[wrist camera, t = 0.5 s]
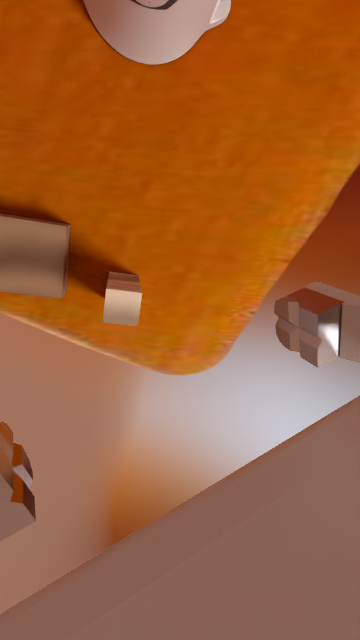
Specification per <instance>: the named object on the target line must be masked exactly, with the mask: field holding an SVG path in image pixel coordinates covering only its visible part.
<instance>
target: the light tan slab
mask: <svg viewBox="0 0 360 640" xmlns="http://www.w3.org/2000/svg"><path fill="white" fill-rule="evenodd" d="M70 229H71V224H65V223H59V222H52V221H46V220H40V219H34V218H27V217H21V216H15V215H8V214H2V213H0V292H7V293H16V294H25V295H34V296H43V297H52V298H61V299H62V297H63V296H64V294H65V293H66V291H67V278H68V262H69V245H70Z"/></svg>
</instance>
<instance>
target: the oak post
mask: <svg viewBox="0 0 360 640" xmlns="http://www.w3.org/2000/svg"><path fill="white" fill-rule="evenodd" d="M141 297H142V291H141V286H140V282H139V277H138V275H133V274H125V273H118V272H110V271H109V276H108V281H107V287H106V295H105V305H104V315H103V322H104V323H114V324H124V325H134V326H138V319H139V312H140V304H141Z"/></svg>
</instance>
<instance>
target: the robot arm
mask: <svg viewBox="0 0 360 640" xmlns="http://www.w3.org/2000/svg"><path fill="white" fill-rule="evenodd" d="M83 2H84V4H85V6H86V9H87V11H88V13H89V16H90V18H91V20H92V22H93V23H94V25H95V27H96V28H97V30H98V31H99V33H100V34H101V36H102V37H103V38H104V39H105V40H106V41H107V42H108V44H109V45H111V46H112V47H113V48H114V49H115V50H116V51H118V52H119V53H120V54H122V55H124V56H125V57H127V58H129V59H131V60H134V61H137V62H140V63H144V64H162V63H167V62H170V61H172V60H175V59H177V58H179V57H180V56H182V55H183V54H184V53H186V52H187V51H188V50H189V49H190V48H191V47H192V46H193V45H194V44H195V42H196V41H197V40H198V39H199V37H200V36H201V35H202V34H203V33H204V32H205V31H206V30H208V29H211V28H213V27H215V26H217V25H219V24H221V23H222V22H223V21H225V19H226V18H227V16H228V14H229V11H230V6H231V0H83ZM274 312H275V314H276V315H277V316H278V317H279V318H278V321H277V323H276V334H277V337H278V339H279V341H280V342H281V343H282V344H283V346H285V347H286V348H287V349H289V350H290V351H297V352H300V356H301V357H302V358H303V359H305V360H306V361H308V362H310V363H311V364H313V365H314V366H316V367H320V366H322V365H324V364H325V363H328V362H329V361H332V360H333V359H335V358H337V357H339V356H340V358H343V359H347V360H351V361H355V362H360V296H357V295H355V294H352V293H349V292H346V291H343V290H340V289H337V288H334V287H331V286H328V285H325V284H323V283H319V282H316V283H311V284H310V285H307V286H305V287H303V288H301V289H300V290H298V291H296V292H293V293H291V294H289V295H287V296H285V297H283V298H280V299H278V300H276V302H275V305H274ZM32 483H33V472H32V468H31V464H30V460H29V458H28V456H27V454H26V452H25V451H24V449H23V447H22V446H21V445H19V444H15V443H13V432H12V431H11V429H10V428H9V426H8V425H7V424H6V423H4V422H1V423H0V541H2V540H4V539H6V538H7V537H9V536H11V535H13V534H14V533H16V532H18V531H20V530H21V529H23V528H24V527H26V526H28V525H30V524H32V523H33V522H35V521H36V515H35V499H34V495H33V494H32V492H31V491H30V489H29V488H30V486H31V485H32ZM0 640H360V396H358V397H357V398H355V399H353V400H352V401H350V402H348V403H347V404H345V405H343V406H342V407H340V408H338V409H337V410H335V411H334V412H332V413H330V414H329V415H327V416H325V417H324V418H322V419H320V420H319V421H317V422H315V423H314V424H312V425H310V426H309V427H307V428H306V429H304V430H302V431H301V432H299V433H297V434H296V435H294V436H292V437H291V438H289V439H287V440H286V441H284V442H282V443H281V444H279V445H278V446H276V447H275V448H273V449H271V450H269V451H268V452H266V453H264V454H263V455H261V456H259V457H258V458H256V459H254V460H253V461H251V462H250V463H248V464H246V465H245V466H243V467H241V468H240V469H238V470H236V471H235V472H234V473H231V474H230V475H228V476H227V477H225V478H223V479H222V480H220V481H219V482H217V483H215V484H213V485H212V486H210V487H208V488H207V489H205V490H204V491H202V492H200V493H199V494H197V495H195V496H194V497H192V498H191V499H189V500H188V501H185V502H184V503H182V504H180V505H179V506H177V507H176V508H174V509H172V510H171V511H169V512H168V513H166V514H164V515H162V516H161V517H159V518H157V519H156V520H155V521H153V522H151V523H149V524H148V525H146V526H144V527H143V528H141V529H139V530H138V531H136V532H135V533H133V534H131V535H130V536H128V537H126V538H125V539H123V540H121V541H120V542H118V543H116V544H115V545H113V546H111V547H110V548H108V549H107V550H105V551H103V552H102V553H100V554H98V555H97V556H95V557H93V558H92V559H90V560H89V561H87V562H85V563H83V564H82V565H80V566H79V567H77V568H76V569H74V570H72V571H70V572H69V573H67V574H66V575H64V576H62V577H60V578H59V579H57V580H56V581H54V582H52V583H51V584H49V585H47V586H46V587H44V588H42V589H41V590H39V591H38V592H36V593H34V594H33V595H31V596H29V597H28V598H26V599H24V600H23V601H21V602H19V603H18V604H16V605H14V606H13V607H11V608H9V609H8V610H6V611H5V612H3V613H1V614H0Z"/></svg>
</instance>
